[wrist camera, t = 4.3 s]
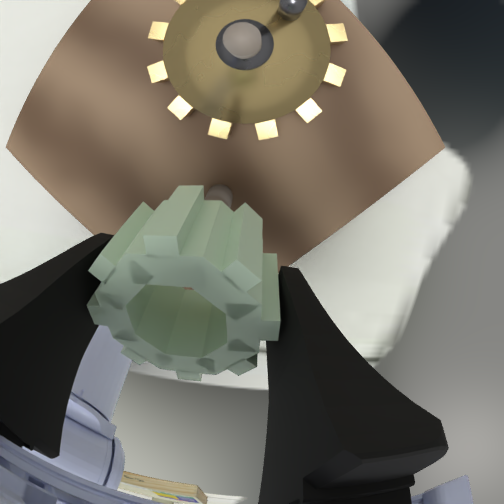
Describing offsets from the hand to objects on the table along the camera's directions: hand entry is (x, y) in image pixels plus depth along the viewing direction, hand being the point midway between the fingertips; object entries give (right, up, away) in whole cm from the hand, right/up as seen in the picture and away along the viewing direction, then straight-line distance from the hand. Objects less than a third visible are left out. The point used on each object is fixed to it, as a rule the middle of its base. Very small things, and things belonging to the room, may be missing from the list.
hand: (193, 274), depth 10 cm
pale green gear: (0, 0, +1) cm, 1 cm away
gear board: (-1, +8, +5) cm, 9 cm away
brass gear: (+2, +10, +2) cm, 11 cm away
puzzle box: (-31, -74, +59) cm, 99 cm away
